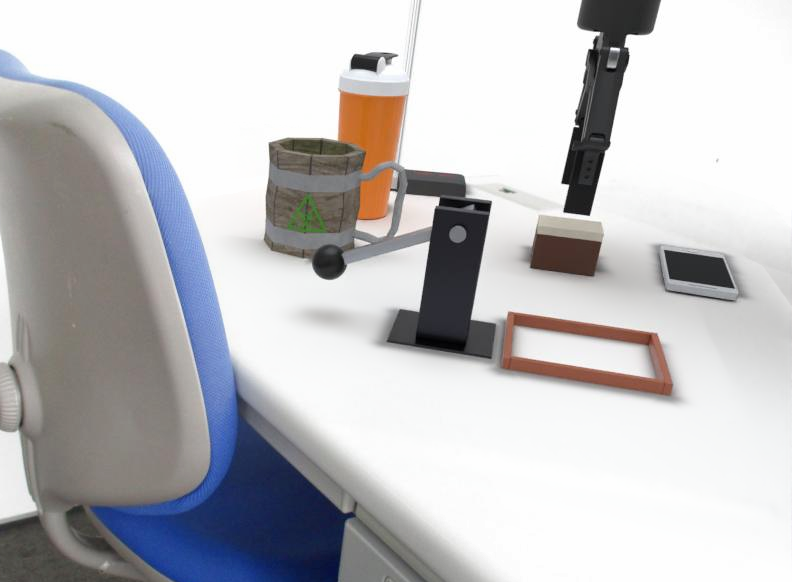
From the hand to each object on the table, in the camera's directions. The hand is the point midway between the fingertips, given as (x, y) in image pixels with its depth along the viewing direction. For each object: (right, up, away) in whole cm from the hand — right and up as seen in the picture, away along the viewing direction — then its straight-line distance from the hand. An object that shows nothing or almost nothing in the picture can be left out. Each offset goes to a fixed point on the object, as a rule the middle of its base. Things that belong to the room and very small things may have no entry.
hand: (574, 198), depth 98 cm
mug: (-27, -6, +3) cm, 28 cm away
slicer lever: (-23, -11, -21) cm, 33 cm away
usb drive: (-11, +9, +32) cm, 35 cm away
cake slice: (0, -7, +3) cm, 8 cm away
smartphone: (+15, -8, +3) cm, 17 cm away
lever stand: (-19, -18, -19) cm, 32 cm away
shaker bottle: (-22, +3, +20) cm, 29 cm away
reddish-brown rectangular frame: (-8, -20, -21) cm, 30 cm away
